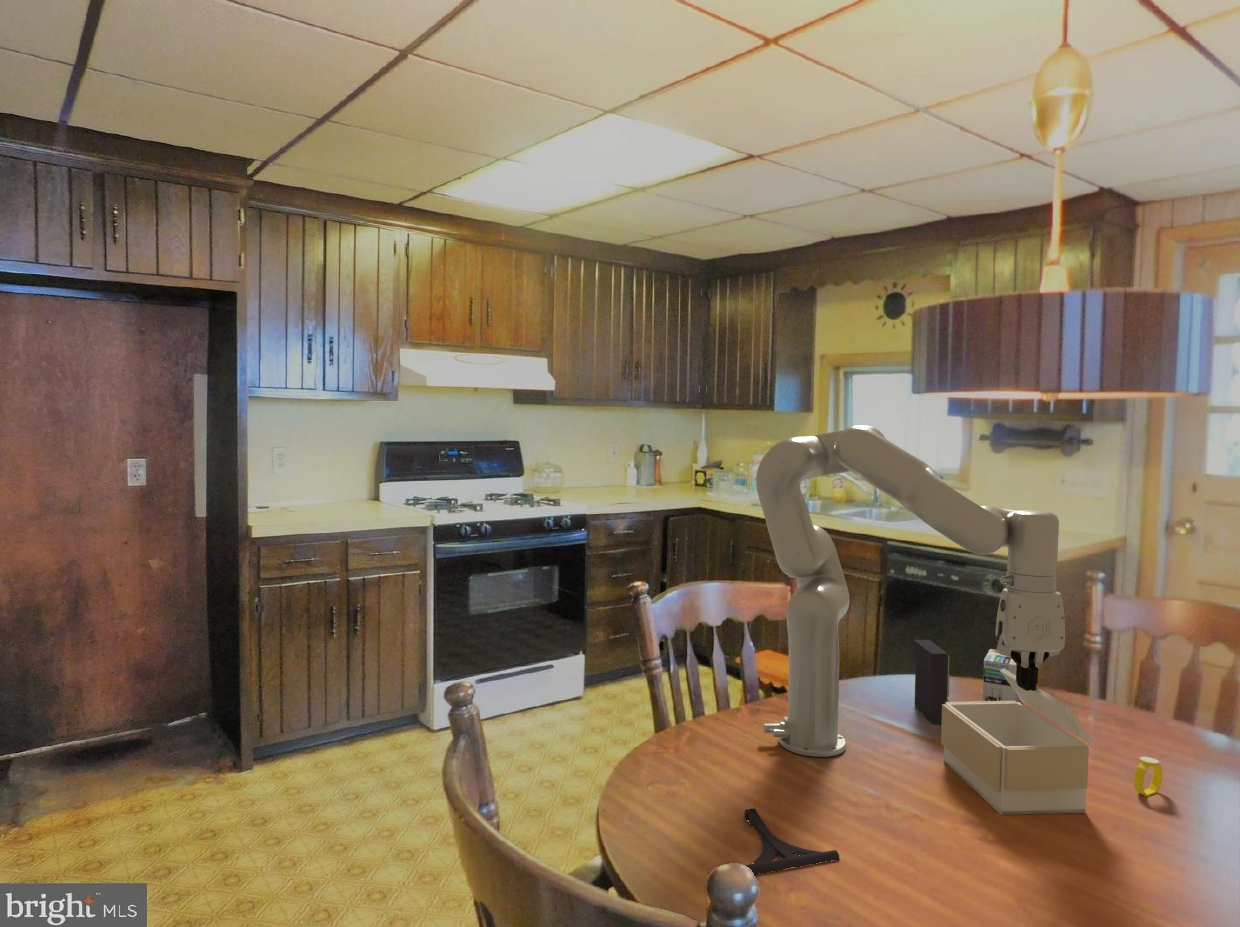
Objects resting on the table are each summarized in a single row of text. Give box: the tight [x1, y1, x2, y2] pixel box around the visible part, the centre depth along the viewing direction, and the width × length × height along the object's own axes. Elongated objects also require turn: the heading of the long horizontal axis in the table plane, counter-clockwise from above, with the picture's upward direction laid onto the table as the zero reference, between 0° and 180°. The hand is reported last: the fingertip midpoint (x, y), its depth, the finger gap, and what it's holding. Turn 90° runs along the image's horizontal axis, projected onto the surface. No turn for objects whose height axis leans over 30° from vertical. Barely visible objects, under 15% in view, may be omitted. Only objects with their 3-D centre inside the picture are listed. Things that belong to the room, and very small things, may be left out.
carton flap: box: [1000, 668, 1093, 744], centre depth 139 cm, size 7×19×1 cm
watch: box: [1133, 756, 1163, 797], centre depth 137 cm, size 6×3×6 cm, turn 118°
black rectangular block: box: [912, 639, 951, 725], centre depth 172 cm, size 11×4×15 cm, turn 179°
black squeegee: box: [743, 807, 841, 876], centre depth 121 cm, size 14×15×3 cm
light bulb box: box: [982, 648, 1021, 703], centre depth 179 cm, size 11×7×11 cm, turn 149°
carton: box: [940, 700, 1090, 816], centre depth 139 cm, size 15×22×11 cm
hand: (1026, 688), depth 138 cm, fingers closed
